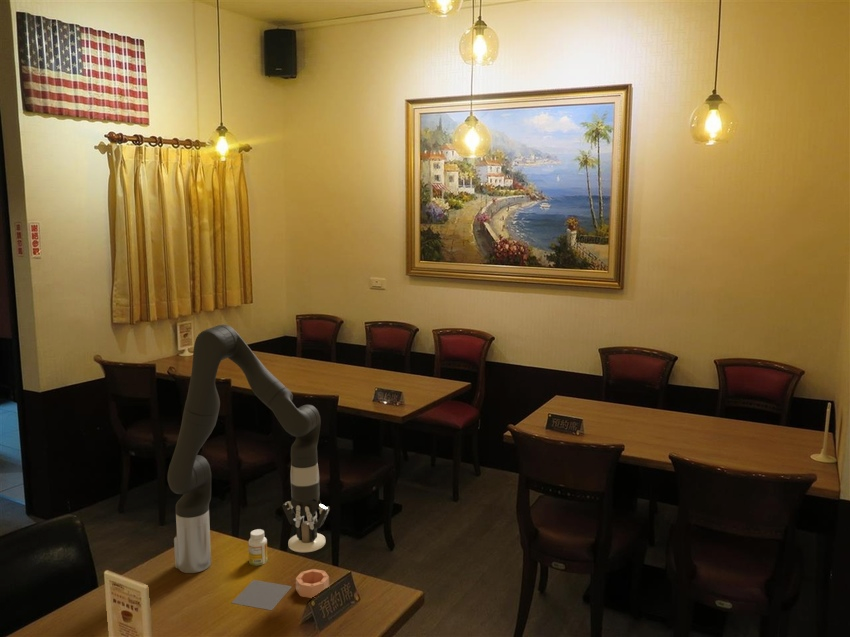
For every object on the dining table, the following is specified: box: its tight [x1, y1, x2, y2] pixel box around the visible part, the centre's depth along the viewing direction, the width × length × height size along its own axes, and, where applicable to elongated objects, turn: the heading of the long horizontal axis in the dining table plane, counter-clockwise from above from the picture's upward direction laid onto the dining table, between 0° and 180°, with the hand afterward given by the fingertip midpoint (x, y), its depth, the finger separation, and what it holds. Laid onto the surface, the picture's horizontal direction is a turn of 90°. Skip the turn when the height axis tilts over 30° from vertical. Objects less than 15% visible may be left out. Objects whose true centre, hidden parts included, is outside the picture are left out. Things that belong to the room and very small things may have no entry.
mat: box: [231, 579, 293, 611], centre depth 190 cm, size 12×12×1 cm
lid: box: [287, 520, 326, 553], centre depth 189 cm, size 10×10×6 cm
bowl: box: [295, 568, 330, 599], centre depth 193 cm, size 8×8×4 cm
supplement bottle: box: [248, 528, 268, 566], centre depth 207 cm, size 5×5×10 cm
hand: (307, 539), depth 189 cm, fingers closed on lid, 2 cm apart
